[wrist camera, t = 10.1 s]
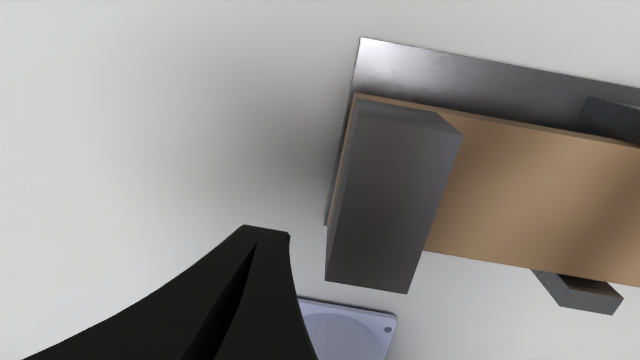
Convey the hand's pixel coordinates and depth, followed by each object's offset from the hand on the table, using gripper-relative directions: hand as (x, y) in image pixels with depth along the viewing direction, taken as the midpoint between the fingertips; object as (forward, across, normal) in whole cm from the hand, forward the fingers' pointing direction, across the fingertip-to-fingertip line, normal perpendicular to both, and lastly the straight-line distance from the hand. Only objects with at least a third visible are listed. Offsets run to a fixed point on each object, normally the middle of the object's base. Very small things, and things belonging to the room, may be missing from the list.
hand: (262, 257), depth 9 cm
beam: (+6, -14, -1) cm, 15 cm away
